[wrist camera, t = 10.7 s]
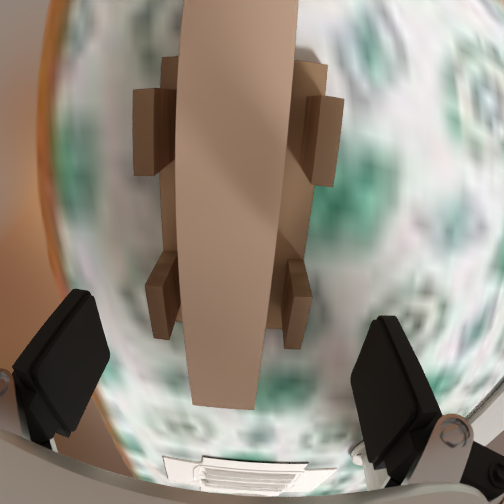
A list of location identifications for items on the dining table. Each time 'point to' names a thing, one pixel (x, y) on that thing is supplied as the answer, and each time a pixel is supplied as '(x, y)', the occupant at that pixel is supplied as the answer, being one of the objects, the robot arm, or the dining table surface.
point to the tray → (245, 476)
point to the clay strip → (230, 185)
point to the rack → (292, 198)
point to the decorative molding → (489, 418)
